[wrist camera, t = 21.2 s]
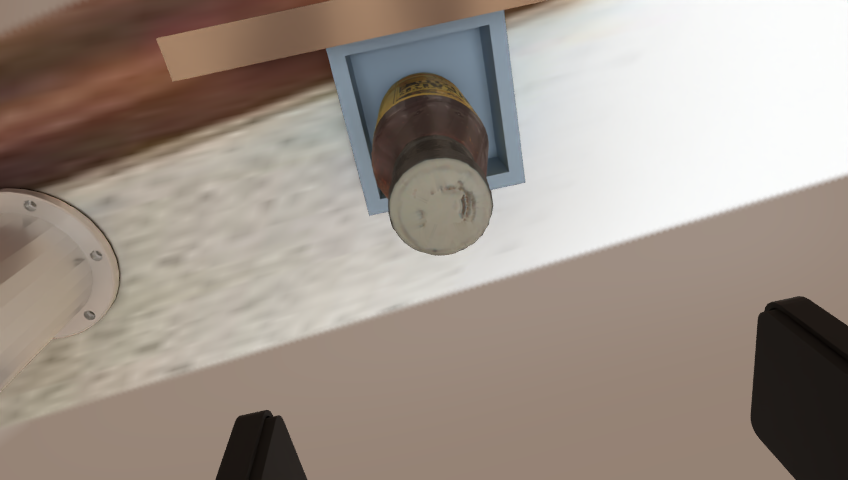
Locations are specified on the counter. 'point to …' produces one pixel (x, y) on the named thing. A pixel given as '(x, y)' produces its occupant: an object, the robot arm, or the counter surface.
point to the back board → (309, 31)
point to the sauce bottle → (432, 164)
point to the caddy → (442, 55)
